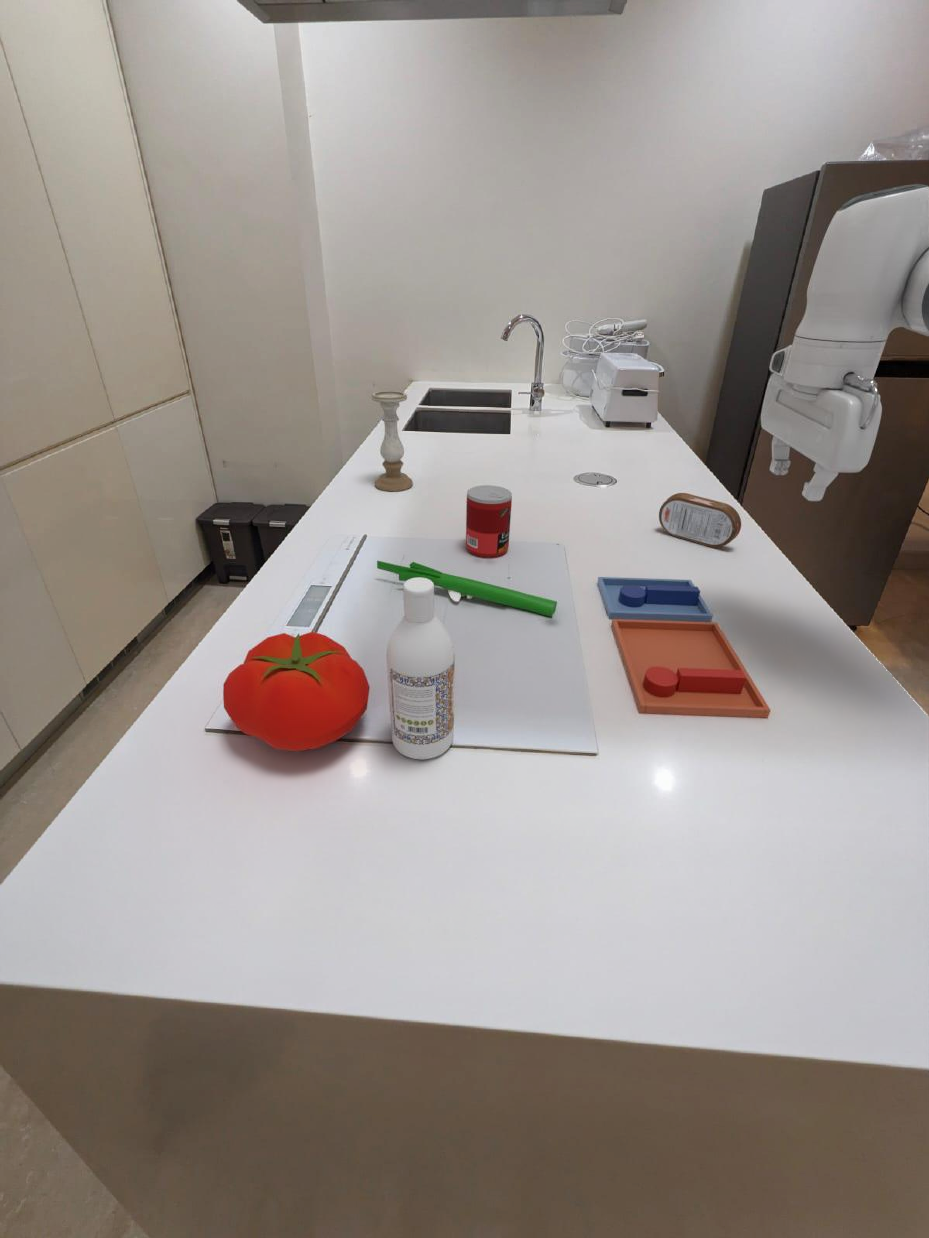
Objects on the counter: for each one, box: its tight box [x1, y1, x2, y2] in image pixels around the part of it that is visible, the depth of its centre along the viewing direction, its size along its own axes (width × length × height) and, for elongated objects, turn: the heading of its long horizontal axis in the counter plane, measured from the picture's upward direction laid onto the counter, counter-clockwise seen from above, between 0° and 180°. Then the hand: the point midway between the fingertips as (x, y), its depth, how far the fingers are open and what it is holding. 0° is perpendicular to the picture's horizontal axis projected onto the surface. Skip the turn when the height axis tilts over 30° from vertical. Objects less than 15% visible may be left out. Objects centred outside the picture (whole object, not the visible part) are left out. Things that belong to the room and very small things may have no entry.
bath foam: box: [386, 577, 456, 760], centre depth 60 cm, size 7×7×20 cm
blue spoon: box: [619, 585, 701, 607], centre depth 91 cm, size 12×4×3 cm, turn 88°
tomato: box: [222, 631, 370, 752], centre depth 65 cm, size 14×16×10 cm
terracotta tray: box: [610, 619, 771, 719], centre depth 77 cm, size 15×19×2 cm
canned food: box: [465, 484, 513, 559], centre depth 104 cm, size 8×8×11 cm
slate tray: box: [596, 576, 713, 622], centre depth 91 cm, size 15×11×2 cm
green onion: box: [376, 560, 558, 618], centre depth 91 cm, size 5×3×30 cm
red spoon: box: [643, 666, 746, 697], centre depth 73 cm, size 12×4×3 cm, turn 88°
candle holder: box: [371, 390, 414, 492], centre depth 130 cm, size 9×9×20 cm
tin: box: [658, 492, 742, 548], centre depth 110 cm, size 15×3×8 cm, turn 51°
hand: (793, 485), depth 72 cm, fingers open, 8 cm apart
